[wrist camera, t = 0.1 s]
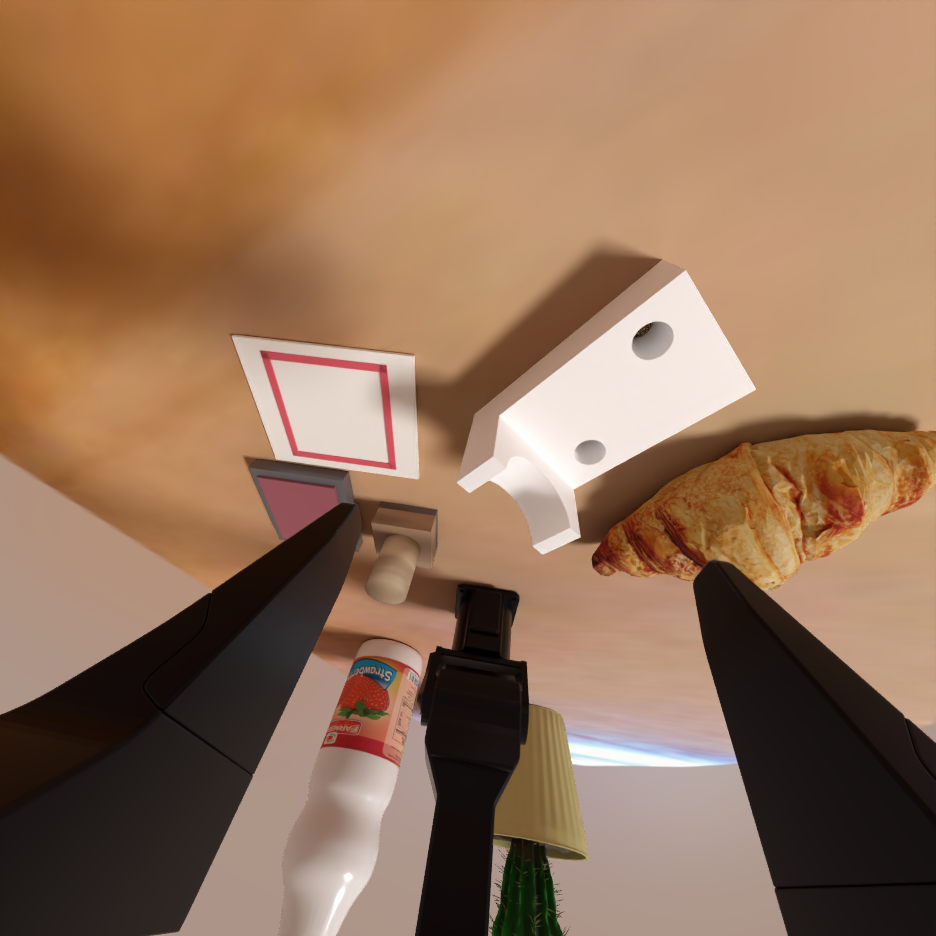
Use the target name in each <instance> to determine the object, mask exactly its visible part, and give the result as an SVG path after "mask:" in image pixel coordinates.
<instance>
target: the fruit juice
mask: <svg viewBox="0 0 936 936" xmlns="http://www.w3.org/2000/svg"><path fill="white" fill-rule="evenodd" d="M422 664H423V663H422V657H421V656H420V654H419V653H418V652H417V651H415V650H414V649H413V648H411V647H409V646H407V645H405V644H402V643H400V642H396V641H393V640H387V639H372V640H368V641H366V642H364V643H363V644H362V645H361V647H360V648H359V650H358V652H357V654H356V657H355V660H354V662H353V665H352V668H351V670H350V673H349V675H348V678H347V681H346V683H345V686H344V689H343V691H342V694H341V696H340V699H339V702H338V704H337V707H336V709H335V712H334V715H333V718H332V720H331V723H330V725H329V728H328V731H327V733H326V736H325V738H324V741H323V744H322V746H321V748H320V751H319V753H318V756H317V759H316V762H315V765H314V768H313V771H312V775H311V778H310V783H309V794H308V799H307V802H306V805H305V807H304V809H303V811H302V812H301V814H300V815H299V817H298V819H297V821H296V822H295V824H294V826H293V828H292V830H291V832H290V834H289V837H288V840H287V843H286V846H285V849H284V854H283V862H282V868H283V882H284V898H283V906H282V913H281V920H280V927H279V933H278V936H336V935H337V933H338V931H339V929H340V926H341V924H342V922H343V920H344V918H345V916H346V914H347V913H348V911H349V909H350V907H351V906H352V904H353V902H354V901H355V899H356V898H357V897H358V895H359V894H360V893H361V891H362V890H363V889H364V887H365V886H366V884H367V883H368V881H369V879H370V877H371V875H372V872H373V870H374V866H375V863H376V859H377V855H378V850H379V836H380V824H381V819H382V816H383V813H384V811H385V809H386V808H387V806H388V804H389V802H390V800H391V797H392V794H393V791H394V787H395V783H396V780H397V776H398V772H399V767H400V762H401V758H402V754H403V749H404V745H405V741H406V736H407V732H408V727H409V723H410V719H411V715H412V711H413V706H414V702H415V698H416V693H417V689H418V685H419V680H420V676H421V672H422Z"/></svg>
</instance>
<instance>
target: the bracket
mask: <svg viewBox="0 0 936 936" xmlns="http://www.w3.org/2000/svg"><path fill="white" fill-rule="evenodd" d="M651 322H653V324H652V326H651V328H650V329H649V331H648V332H647V333H646V334H644V335H643V336H641V337H638V338H634V336H635V334H636V333H637V332H638V331H639V329H641V328H642V327H643V326H645V325H646V324H649V323H651ZM633 338H634V339H633ZM754 390H756V388H755V386H754V385H753V383H752V381H751V380H750V378H749V376H748V375H747V373H746V371H745V369H744V368H743V366H742V364H741V363H740V361H739V359H738V358H737V356H736V354H735V353H734V351H733V349H732V347H731V346H730V344H729V342H728V341H727V339H726V337H725V336H724V334H723V332H722V331H721V329H720V327H719V325H718V324H717V322H716V320H715V319H714V317H713V315H712V314H711V312H710V310H709V309H708V307H707V305H706V303H705V302H704V300H703V298H702V297H701V295H700V293H699V292H698V290H697V288H696V286H695V285H694V283H693V281H692V280H691V278H690V276H689V275H688V273H687V271H686V270H685V269H682V268H680V267H678V266H676V265H674V264H671V263H669V262H667V261H665V260H663V259H662V260H661V261H660V262H659V263H657V264H656V265H655V266H654V267H653V268H651V269H650V270H649V271H648V272H647V273H645V274H644V275H643V276H642V277H640V278H639V279H638V280H637V281H636V282H634V283H633V284H632V285H631V286H630V287H628V288H627V289H626V290H625V291H623V292H622V293H621V294H620V295H619V296H617V297H616V298H615V299H614V300H613V301H611V302H610V303H609V304H608V305H606V306H605V307H604V308H603V309H602V310H600V311H599V312H598V313H597V314H596V315H594V316H593V317H592V318H591V319H589V320H588V321H587V322H586V323H585V324H583V325H582V326H581V327H580V328H579V329H577V330H576V331H575V332H574V333H572V334H571V335H570V336H569V337H568V338H566V339H565V340H564V341H563V342H562V343H560V344H559V345H558V346H557V347H555V348H554V349H553V350H552V351H551V352H549V353H548V354H547V355H546V356H545V357H543V358H542V359H541V360H540V361H538V362H537V363H536V364H535V365H534V366H532V367H531V368H530V369H529V370H528V371H526V372H525V373H524V374H523V375H521V376H520V377H519V378H518V379H517V380H515V381H514V382H513V383H512V384H511V385H509V386H508V387H507V388H506V389H504V390H503V391H502V392H501V393H500V394H498V395H497V396H496V397H495V398H494V399H492V400H491V401H490V402H489V403H487V404H486V405H485V406H484V407H483V408H481V409H480V410H479V411H478V412H477V413H475V415H474V419H473V422H472V426H471V430H470V434H469V437H468V441H467V445H466V449H465V453H464V456H463V460H462V464H461V468H460V471H459V475H458V479H457V483H458V484H459V485H460V486H461V487H463V488H464V489H465V490H466V491H467V492H469V493H470V492H472V491H473V490H475V489H476V488H478V487H479V486H481V485H483V484H484V483H486V482H487V481H492V482H494V483H496V484H498V485H499V486H501V487H502V488H503V489H505V490H506V491H507V492H508V493H509V494H510V495H511V496H512V498H513V499H514V500H515V501H516V503H517V504H518V506H519V507H520V509H521V511H522V512H523V514H524V516H525V518H526V521H527V523H528V526H529V529H530V532H531V537H532V546H533V547H534V548H535V549H536V550H538V551H539V552H540V553H541V554H542V555H543V554H545V553H547V552H550V551H552V550H554V549H556V548H558V547H560V546H563V545H565V544H567V543H569V542H571V541H574V540H576V539H578V538H580V537H581V536H580V529H579V522H578V516H577V509H576V502H575V495H574V489H575V488H577V487H579V486H581V485H583V484H584V483H586V482H588V481H590V480H592V479H594V478H595V477H597V476H599V475H601V474H603V473H604V472H606V471H608V470H610V469H612V468H614V467H615V466H617V465H619V464H621V463H623V462H625V461H626V460H628V459H630V458H632V457H634V456H636V455H637V454H639V453H641V452H643V451H645V450H646V449H648V448H650V447H652V446H654V445H656V444H657V443H659V442H661V441H663V440H665V439H667V438H668V437H670V436H672V435H674V434H676V433H678V432H679V431H681V430H683V429H685V428H687V427H688V426H690V425H692V424H694V423H696V422H698V421H699V420H701V419H703V418H705V417H707V416H709V415H710V414H712V413H714V412H716V411H718V410H719V409H721V408H723V407H725V406H727V405H729V404H730V403H732V402H734V401H736V400H738V399H740V398H741V397H743V396H745V395H747V394H749V393H751V392H752V391H754Z"/></svg>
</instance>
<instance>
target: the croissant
mask: <svg viewBox="0 0 936 936" xmlns="http://www.w3.org/2000/svg"><path fill="white" fill-rule="evenodd" d="M935 484H936V431H928V432H924V431H908V432H891V431H877V430H870V429H869V430H859V431H844V432H842V433H824V434H810V435H802V436H797V437H793V438H788V439H782V440H776V441H771V442H764V443H758V444H755V445H752V444H751V443H749V442H746V443H741V444H740V445H739V446H738V447H736V448H735V449H734V450H733V451H732V452H730V453H728V454H727V455H725V456H723V457H722V458H720V459H719V460H717V461H713V462H709V463H706V464H703V465H701V466H699V467H696V468H693V469H691V470H690V471H688V472H687V473H685V474H683V475H681V476H679V477H677V478H675V479H673V480H672V481H670V482H669V483H668V484H666V485H665V486H664V487H662V488H661V489H660V490H659V491H658V492H657V493H656V494H655V495H654V496H653V497H652V498H651V499H649V500H648V501H646V502H645V503H643V504H642V505H641V507H640V508H639V509H637V510H636V511H635V512H633V513H632V514H630V515H629V516H628V517H627V518H626V519H625V520H623V521H621V522H619V523H617V524H616V525H615V526H614V527H612V528H611V529H610V530H609V532H608V533H607V535H606V536H605V537H604V539H603V540H602V542H601V544H600V545H599V547H598V548H597V550H596V551H595V553H594V554H593V556H592V565H593V568H594V569H595V570H596V571H597V572H598V573H599V574H600V575H604V576H610V575H612V574H613V573H616V572H620V571H623V572H626V573H628V574H630V575H631V576H637V577H652V576H654V575H658V574H667V575H672V576H674V577H677V578H679V579H682V580H686V581H694V579H695V577H696V576H697V575H698V573H699V572H700V571H701V570H702V569H703V567H704V566H705V565H706V564H707V563H708V562H709V561H710V560H720V561H726V562H729V563H731V564H733V565H734V566H735V567H737V568H738V569H739V570H740V571H741V572H742V573H743V574H744V575H746V576H747V577H748V578H749V579H750V580H751V581H752V582H754V583H755V584H756V585H757V586H758V587H759V588H760V589H761V590H773V589H777V588H778V587H780V586H781V585H782V584H783V583H785V582H786V580H787V579H789V578H790V577H792V576H794V575H795V574H797V572H798V570H799V567H800V564H802V563H804V562H805V560H806V561H812V560H815V559H817V558H821V557H826V556H828V555H830V554H831V553H832V552H835V551H837V550H839V549H841V548H842V547H844V546H845V545H847V544H849V543H850V542H852V541H854V540H855V539H856V538H857V537H858V536H859V535H860V534H861V532H862V531H863V530H864V529H865V528H866V526H867V524H870V523H872V522H874V521H875V520H876V519H877V518H879V517H880V516H883V515H885V514H888V513H890V512H893V511H896V510H899V509H901V508H904V507H907V506H910V505H912V504H914V503H915V502H917V501H918V500H919V499H920V498H921V496H922V495H924V494H925V493H926V492H927V491H928V490H929V489H931V488H932V487H933V486H934V485H935Z"/></svg>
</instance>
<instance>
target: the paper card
mask: <svg viewBox="0 0 936 936" xmlns="http://www.w3.org/2000/svg"><path fill="white" fill-rule="evenodd" d="M232 339H233V342H234V344H235V347H236V350H237V353H238V355H239V358H240V361H241V364H242V366H243V369H244V372H245V375H246V378H247V380H248V383H249V386H250V389H251V391H252V394H253V397H254V400H255V402H256V405H257V408H258V411H259V413H260V416H261V419H262V422H263V424H264V427H265V430H266V433H267V435H268V438H269V441H270V444H271V446H272V449H273V452H274V455H275V457H276V459H277V460H284V461H291V462H298V463H305V464H312V465H319V466H327V467H334V468H341V469H348V470H355V471H362V472H369V473H376V474H384V475H391V476H398V477H405V478H412V479H419V457H418V432H417V406H416V380H415V355H412V354H403V353H394V352H385V351H376V350H367V349H359V348H350V347H341V346H332V345H323V344H314V343H305V342H296V341H288V340H279V339H270V338H261V337H252V336H243V335H232Z"/></svg>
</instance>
